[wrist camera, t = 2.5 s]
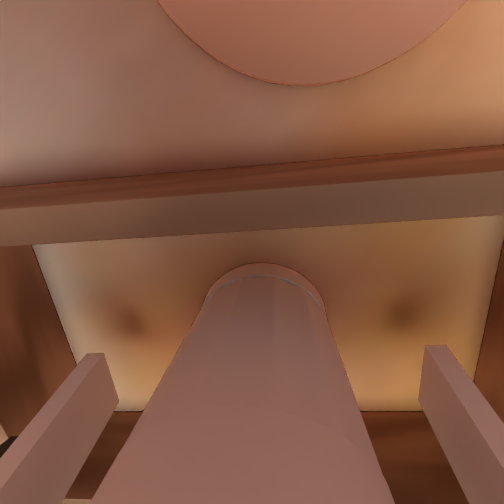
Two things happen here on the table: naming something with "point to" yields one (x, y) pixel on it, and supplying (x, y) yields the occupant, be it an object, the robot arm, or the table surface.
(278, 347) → the cup
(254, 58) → the saucer
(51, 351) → the hinged wooden box
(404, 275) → the table surface
